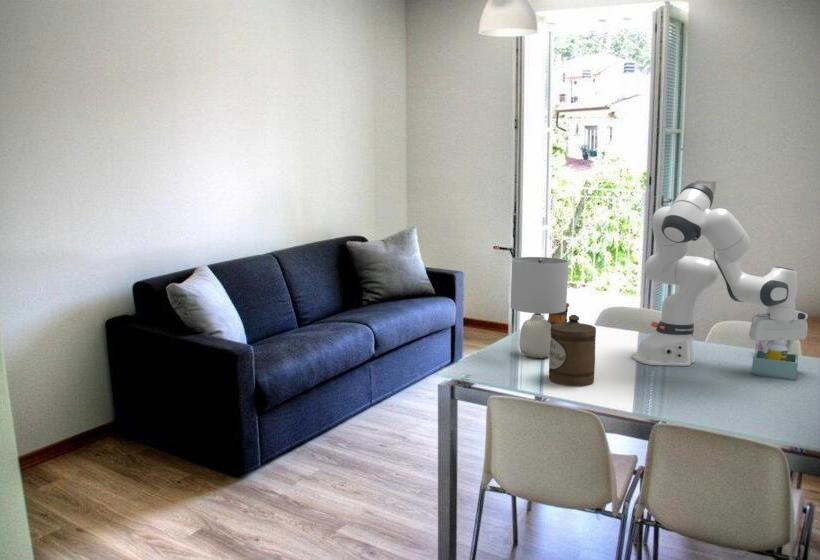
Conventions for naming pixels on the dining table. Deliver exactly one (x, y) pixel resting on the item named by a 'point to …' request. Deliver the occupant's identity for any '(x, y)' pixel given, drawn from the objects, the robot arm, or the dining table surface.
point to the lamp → (538, 299)
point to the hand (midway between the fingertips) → (776, 352)
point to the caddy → (775, 366)
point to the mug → (558, 316)
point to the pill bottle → (777, 350)
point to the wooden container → (572, 353)
